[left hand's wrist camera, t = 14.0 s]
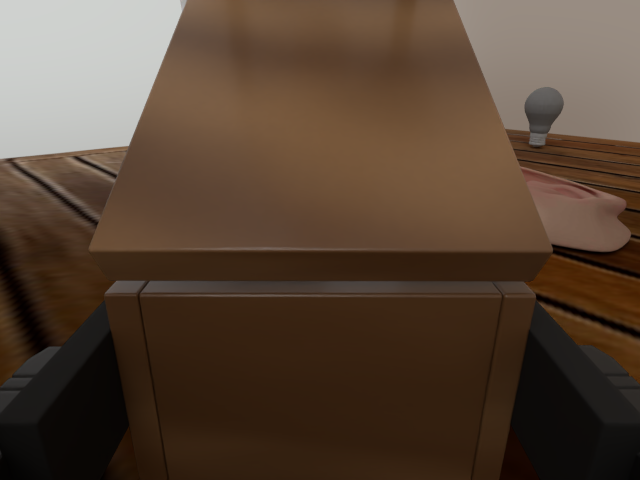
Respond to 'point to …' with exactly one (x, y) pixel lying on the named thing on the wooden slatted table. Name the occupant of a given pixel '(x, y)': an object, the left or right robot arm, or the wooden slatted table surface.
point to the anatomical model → (577, 213)
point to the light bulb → (542, 113)
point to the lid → (320, 153)
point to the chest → (319, 377)
